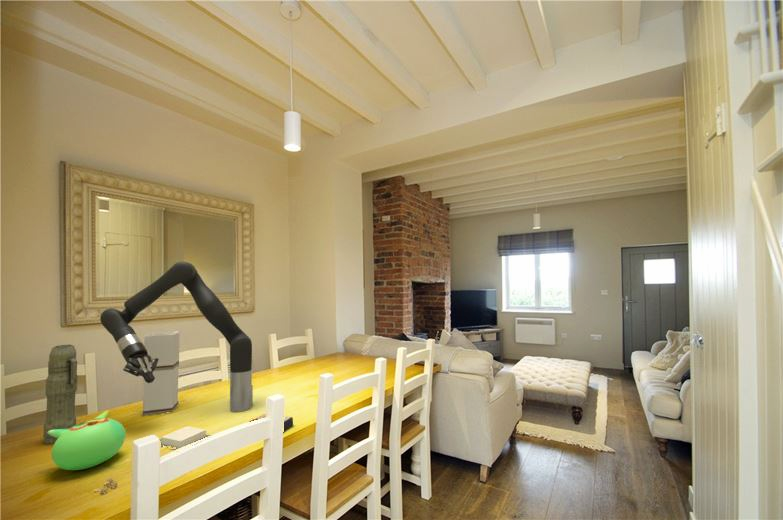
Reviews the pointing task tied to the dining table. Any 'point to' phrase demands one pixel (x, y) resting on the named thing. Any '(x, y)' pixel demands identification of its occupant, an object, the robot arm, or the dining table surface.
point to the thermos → (60, 390)
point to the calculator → (287, 421)
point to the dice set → (106, 485)
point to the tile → (183, 437)
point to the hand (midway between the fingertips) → (151, 381)
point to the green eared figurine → (87, 443)
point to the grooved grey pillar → (162, 373)
